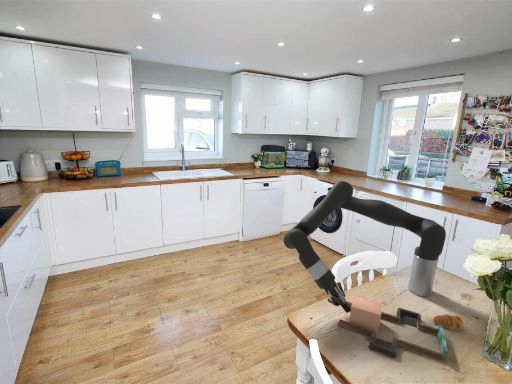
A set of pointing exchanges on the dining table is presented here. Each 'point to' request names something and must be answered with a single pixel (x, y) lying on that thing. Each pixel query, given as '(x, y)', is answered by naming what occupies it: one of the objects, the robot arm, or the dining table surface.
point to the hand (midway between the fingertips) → (349, 311)
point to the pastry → (450, 322)
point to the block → (365, 313)
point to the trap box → (385, 346)
